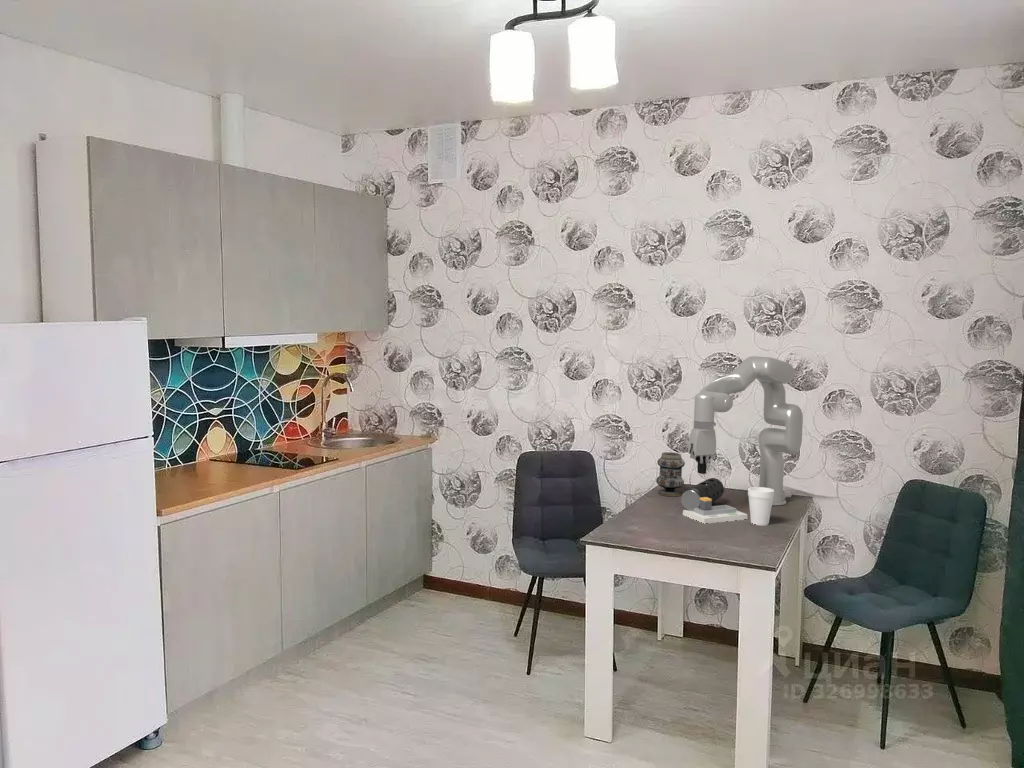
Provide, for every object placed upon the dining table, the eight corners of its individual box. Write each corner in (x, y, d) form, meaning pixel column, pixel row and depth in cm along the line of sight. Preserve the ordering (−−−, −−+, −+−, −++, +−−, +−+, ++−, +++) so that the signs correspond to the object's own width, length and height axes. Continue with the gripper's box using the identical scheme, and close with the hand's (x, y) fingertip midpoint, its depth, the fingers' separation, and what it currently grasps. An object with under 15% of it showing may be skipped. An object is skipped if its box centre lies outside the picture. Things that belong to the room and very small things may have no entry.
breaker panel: (724, 511, 322) (725, 502, 322) (747, 519, 309) (747, 510, 309) (682, 515, 314) (683, 506, 314) (704, 523, 301) (704, 514, 301)
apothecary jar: (686, 497, 346) (688, 456, 344) (658, 497, 345) (660, 455, 344) (680, 491, 358) (681, 451, 356) (653, 490, 357) (654, 451, 356)
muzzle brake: (724, 502, 334) (725, 478, 333) (702, 516, 311) (702, 489, 310) (702, 500, 339) (702, 476, 339) (678, 513, 316) (679, 487, 315)
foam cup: (772, 521, 307) (773, 487, 306) (773, 527, 298) (774, 493, 297) (746, 519, 309) (747, 486, 308) (746, 525, 300) (748, 491, 299)
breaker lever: (705, 511, 312) (706, 496, 311) (711, 513, 309) (711, 498, 308) (699, 512, 311) (699, 497, 310) (704, 514, 308) (705, 499, 307)
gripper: (713, 424, 312) (711, 470, 314) (681, 425, 307) (679, 472, 308) (725, 426, 305) (723, 474, 307) (693, 427, 300) (691, 476, 301)
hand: (701, 473), depth 307 cm, fingers closed
